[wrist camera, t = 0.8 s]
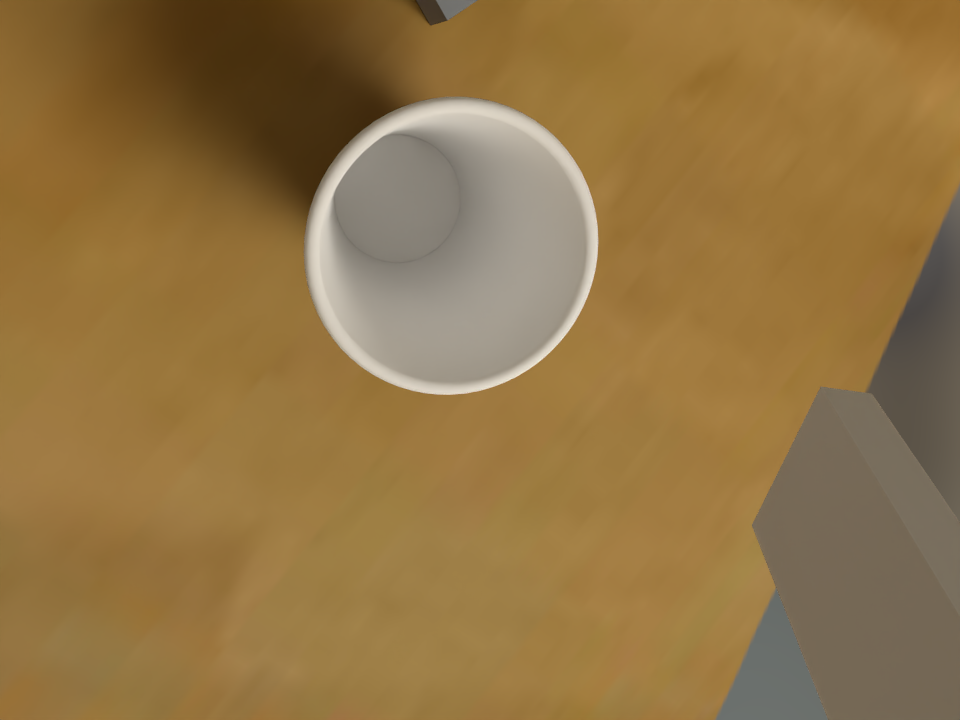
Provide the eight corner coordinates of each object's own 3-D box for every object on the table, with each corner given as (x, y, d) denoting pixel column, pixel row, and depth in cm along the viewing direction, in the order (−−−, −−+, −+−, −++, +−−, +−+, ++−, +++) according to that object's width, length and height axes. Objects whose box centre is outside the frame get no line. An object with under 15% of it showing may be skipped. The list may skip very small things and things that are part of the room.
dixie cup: (253, 239, 31) (248, 318, 21) (354, 47, 30) (401, 31, 19) (433, 331, 34) (505, 439, 24) (532, 159, 32) (653, 196, 22)
